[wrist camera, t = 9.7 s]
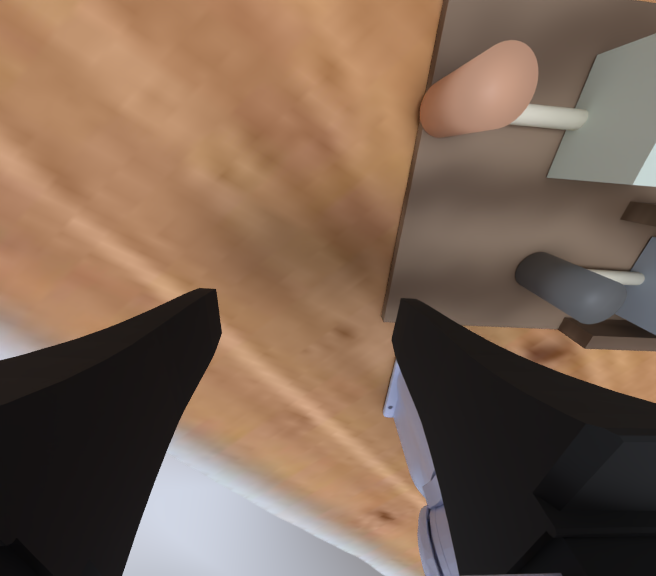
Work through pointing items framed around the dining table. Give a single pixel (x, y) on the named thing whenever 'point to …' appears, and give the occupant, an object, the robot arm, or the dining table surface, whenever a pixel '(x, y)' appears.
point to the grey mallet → (595, 288)
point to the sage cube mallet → (559, 109)
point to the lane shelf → (519, 180)
